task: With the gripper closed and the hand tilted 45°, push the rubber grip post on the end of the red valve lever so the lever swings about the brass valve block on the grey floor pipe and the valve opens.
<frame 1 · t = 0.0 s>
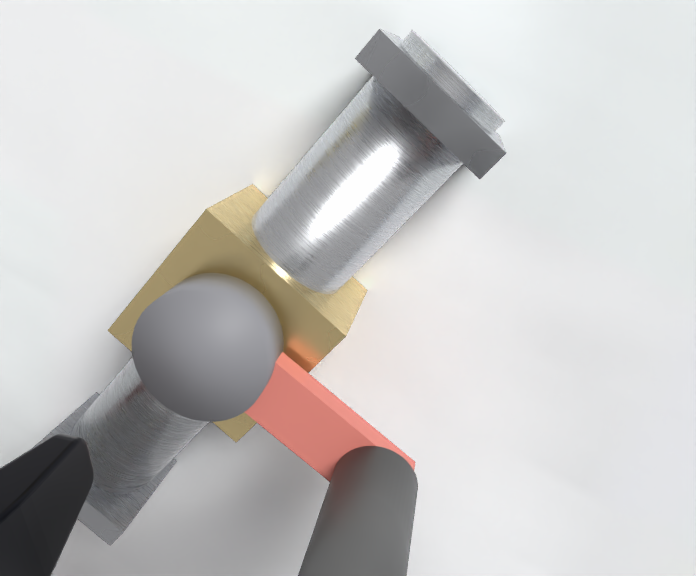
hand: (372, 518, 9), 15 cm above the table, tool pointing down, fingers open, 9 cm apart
lever: (250, 467, 17), point 9 cm above the table, hinge at 0.0°
valve body: (263, 289, 25), on the table
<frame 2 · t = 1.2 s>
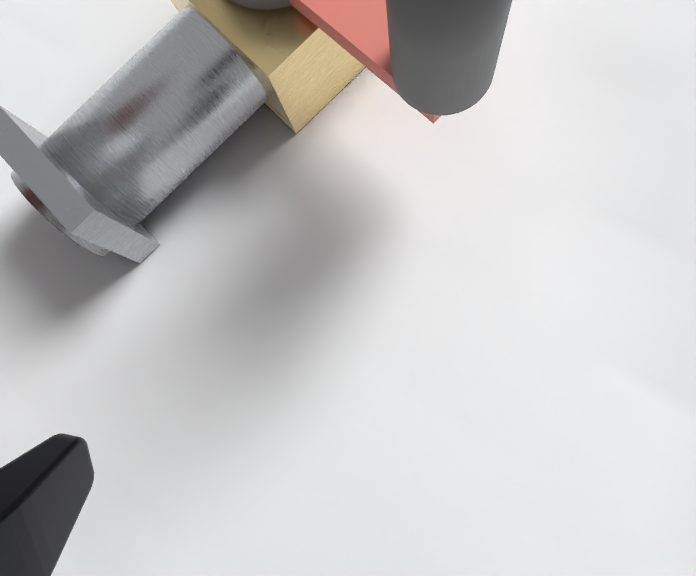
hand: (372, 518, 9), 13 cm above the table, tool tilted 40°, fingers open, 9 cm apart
valve body: (299, 27, 24), on the table
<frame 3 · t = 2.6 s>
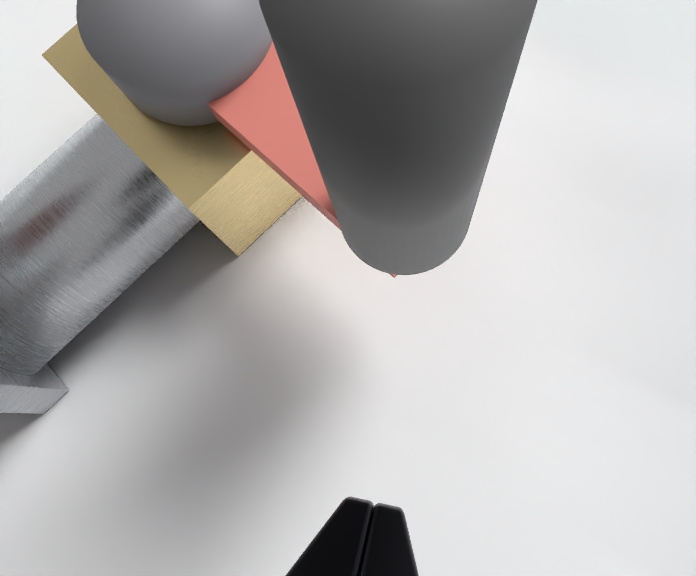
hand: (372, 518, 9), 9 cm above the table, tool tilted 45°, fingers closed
lever: (237, 8, 11), point 9 cm above the table, hinge at 0.0°
valve body: (245, 128, 20), on the table
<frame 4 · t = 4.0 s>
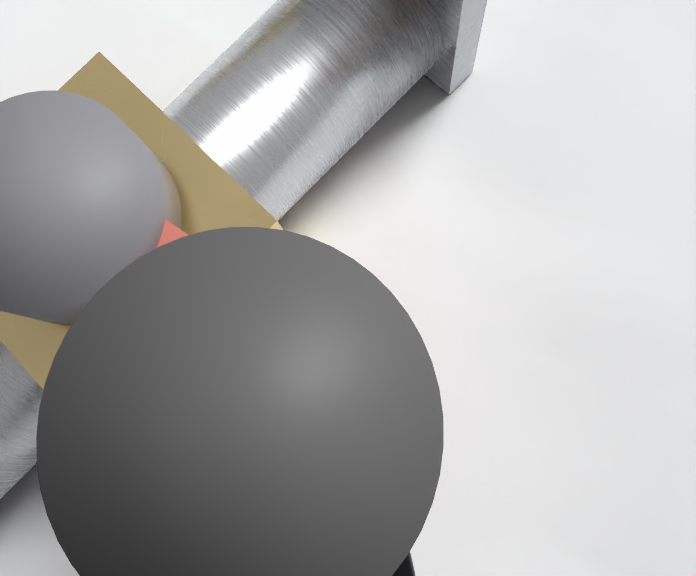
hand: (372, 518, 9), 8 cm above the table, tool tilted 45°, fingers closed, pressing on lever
lever: (97, 257, 9), point 9 cm above the table, hinge at 7.0°, touching gripper
valve body: (163, 270, 18), on the table
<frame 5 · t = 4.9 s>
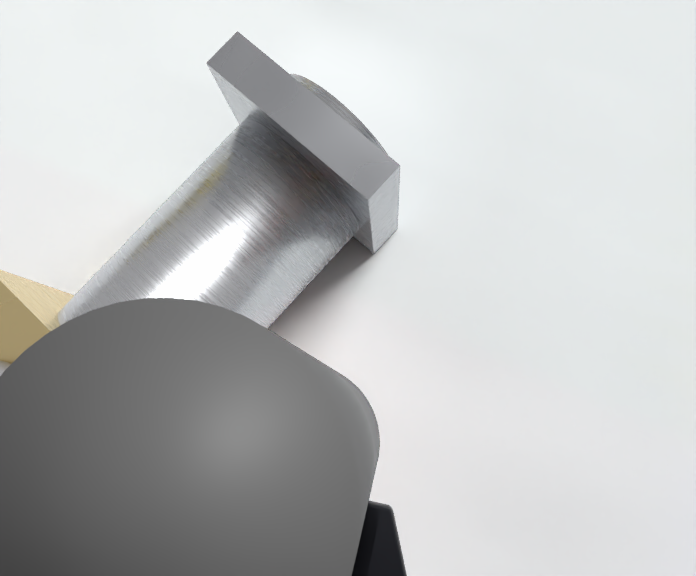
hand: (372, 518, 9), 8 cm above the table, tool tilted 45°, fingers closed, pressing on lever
valve body: (78, 450, 17), on the table
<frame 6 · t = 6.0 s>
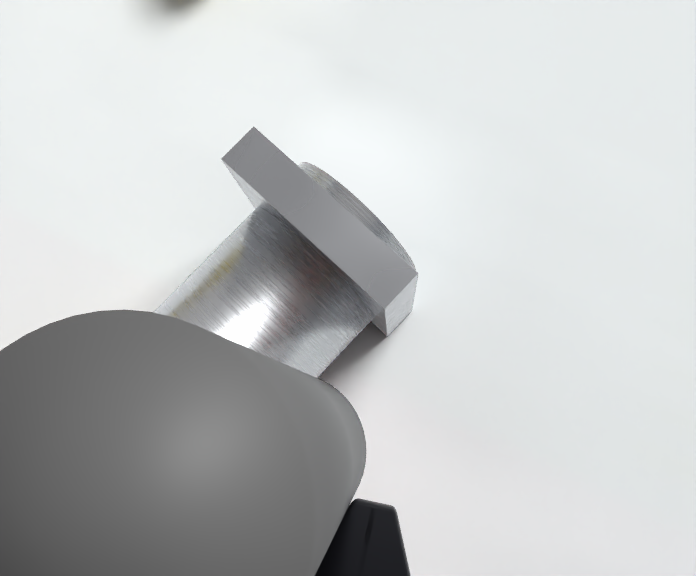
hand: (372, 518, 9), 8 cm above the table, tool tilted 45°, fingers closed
valve body: (81, 532, 17), on the table
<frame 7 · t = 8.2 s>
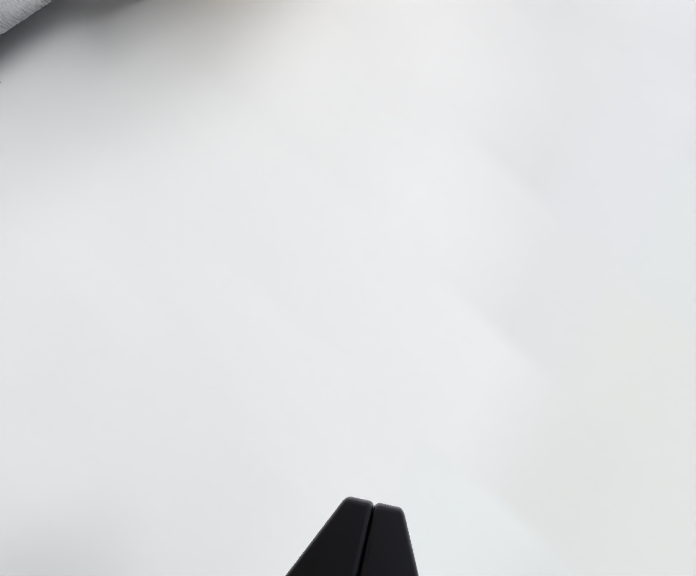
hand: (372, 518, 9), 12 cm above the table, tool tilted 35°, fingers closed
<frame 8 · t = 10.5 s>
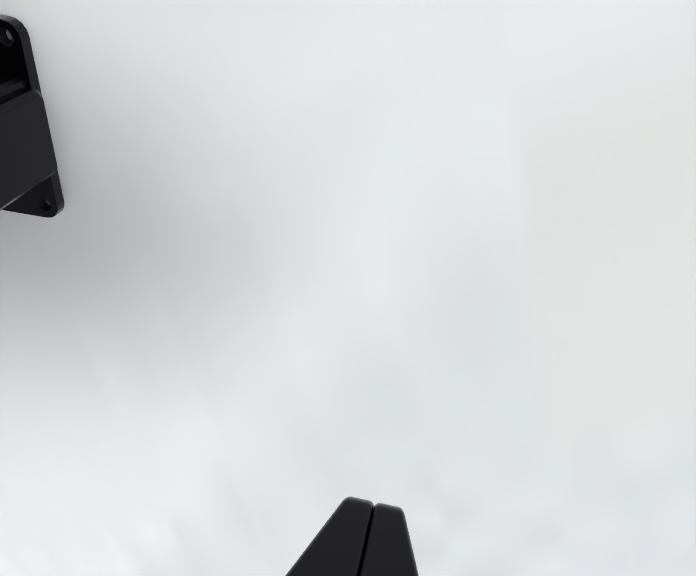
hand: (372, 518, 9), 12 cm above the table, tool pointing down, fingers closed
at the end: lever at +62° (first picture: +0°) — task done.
